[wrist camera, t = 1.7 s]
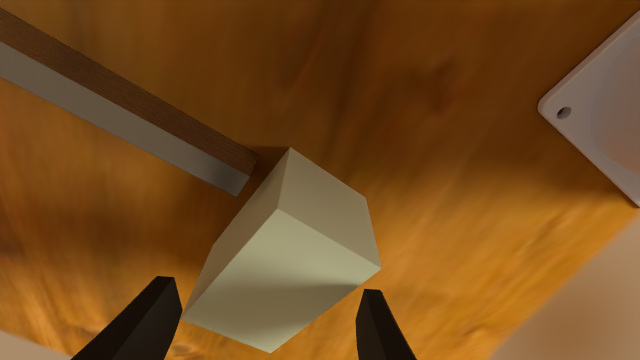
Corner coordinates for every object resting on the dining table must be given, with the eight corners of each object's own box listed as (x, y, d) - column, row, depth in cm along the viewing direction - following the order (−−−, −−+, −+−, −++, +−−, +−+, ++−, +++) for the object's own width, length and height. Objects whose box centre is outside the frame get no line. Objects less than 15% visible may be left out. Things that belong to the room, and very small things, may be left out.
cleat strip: (258, 155, 13) (250, 176, 11) (246, 174, 13) (236, 197, 12) (-255, -139, 8) (-393, -172, 6) (-243, -91, 8) (-368, -111, 7)
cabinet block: (365, 196, 14) (381, 268, 10) (281, 275, 17) (270, 353, 14) (290, 145, 13) (277, 208, 9) (214, 242, 16) (180, 319, 12)
